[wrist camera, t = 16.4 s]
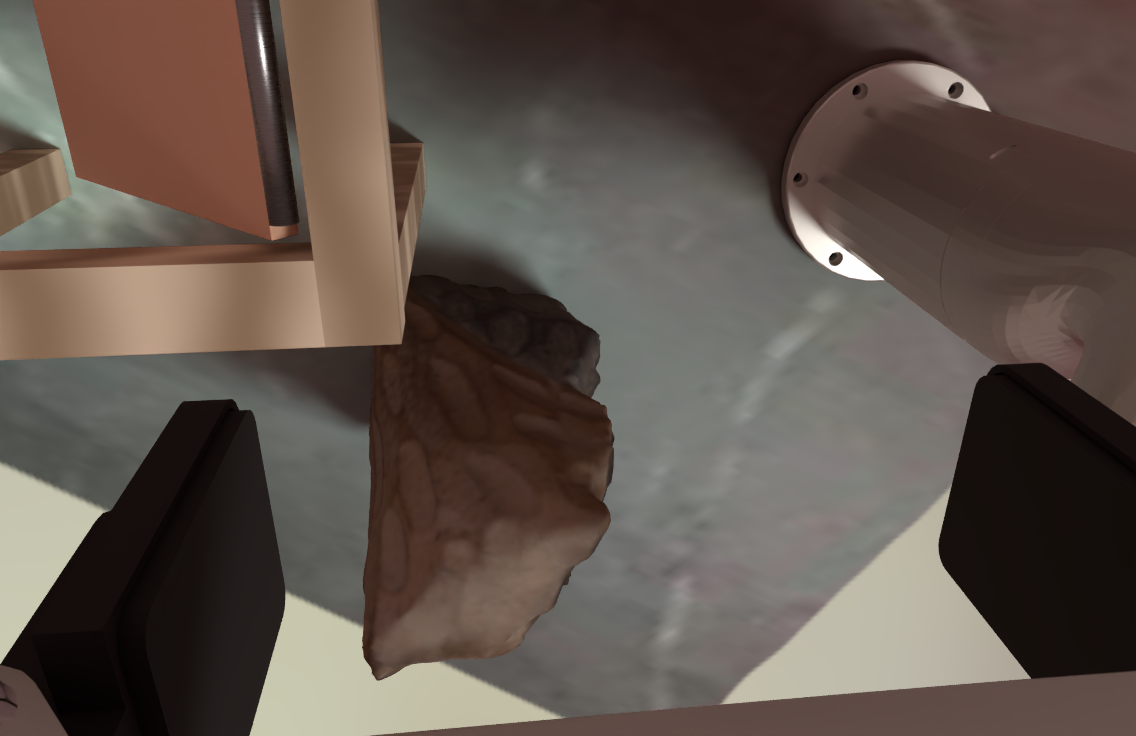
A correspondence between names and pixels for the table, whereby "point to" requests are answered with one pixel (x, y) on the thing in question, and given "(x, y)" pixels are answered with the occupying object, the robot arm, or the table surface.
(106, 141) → the trapdoor
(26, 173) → the trapdoor frame
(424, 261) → the table surface
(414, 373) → the tree stump
